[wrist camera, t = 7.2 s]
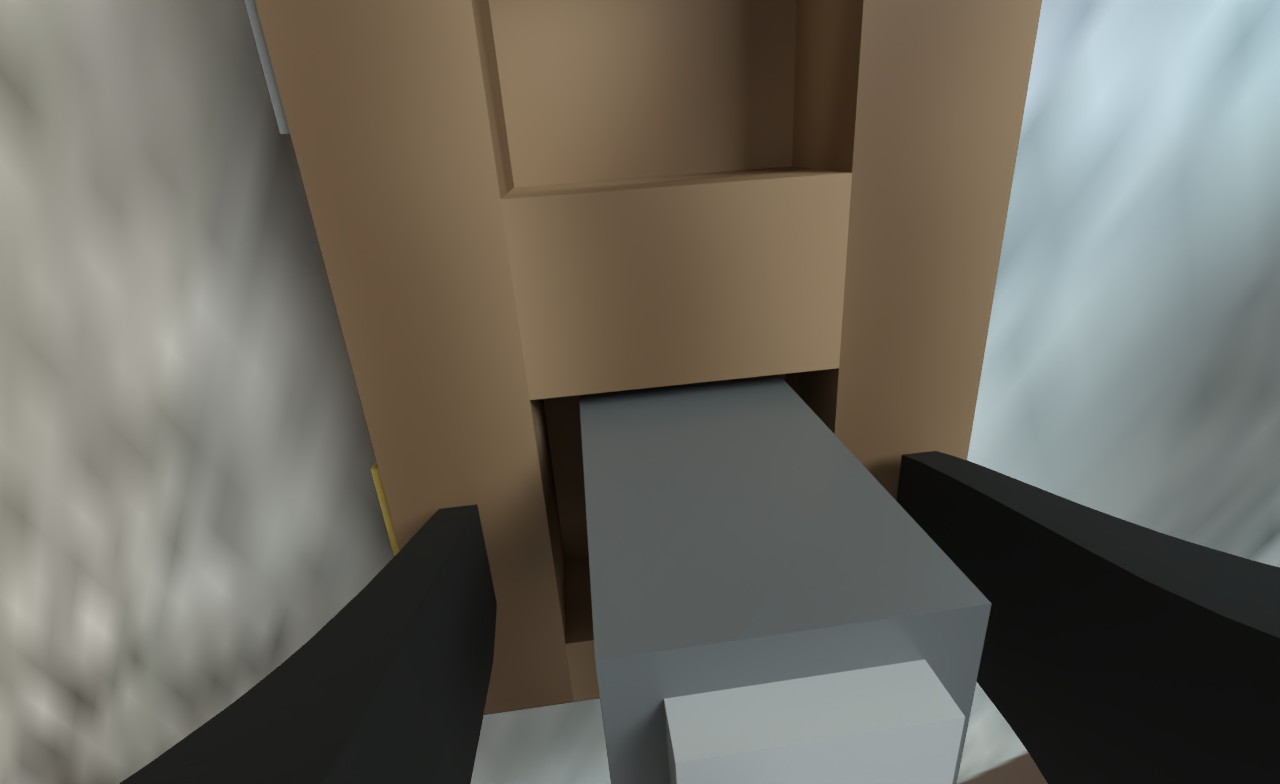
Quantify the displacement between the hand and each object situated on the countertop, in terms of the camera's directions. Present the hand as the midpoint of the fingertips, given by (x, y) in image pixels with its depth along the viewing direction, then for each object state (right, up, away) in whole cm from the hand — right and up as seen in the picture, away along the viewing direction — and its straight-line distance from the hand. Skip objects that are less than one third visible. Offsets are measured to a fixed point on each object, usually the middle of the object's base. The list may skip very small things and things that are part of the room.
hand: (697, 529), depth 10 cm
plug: (0, +1, +3) cm, 3 cm away
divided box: (-1, +5, +2) cm, 5 cm away
